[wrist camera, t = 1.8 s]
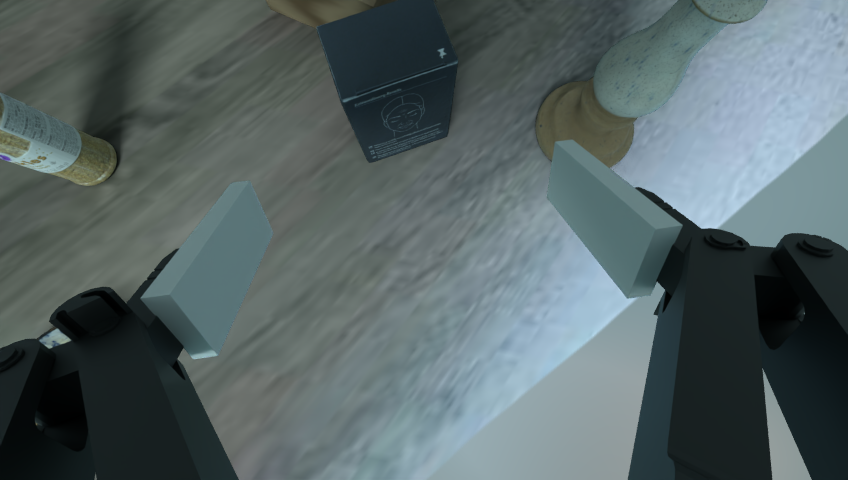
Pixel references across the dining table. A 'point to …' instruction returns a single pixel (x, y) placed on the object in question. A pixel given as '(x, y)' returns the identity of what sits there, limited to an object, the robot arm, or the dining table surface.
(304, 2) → the tan square block
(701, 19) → the candle holder
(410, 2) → the box
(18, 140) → the sprinkles bottle
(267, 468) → the dining table surface
